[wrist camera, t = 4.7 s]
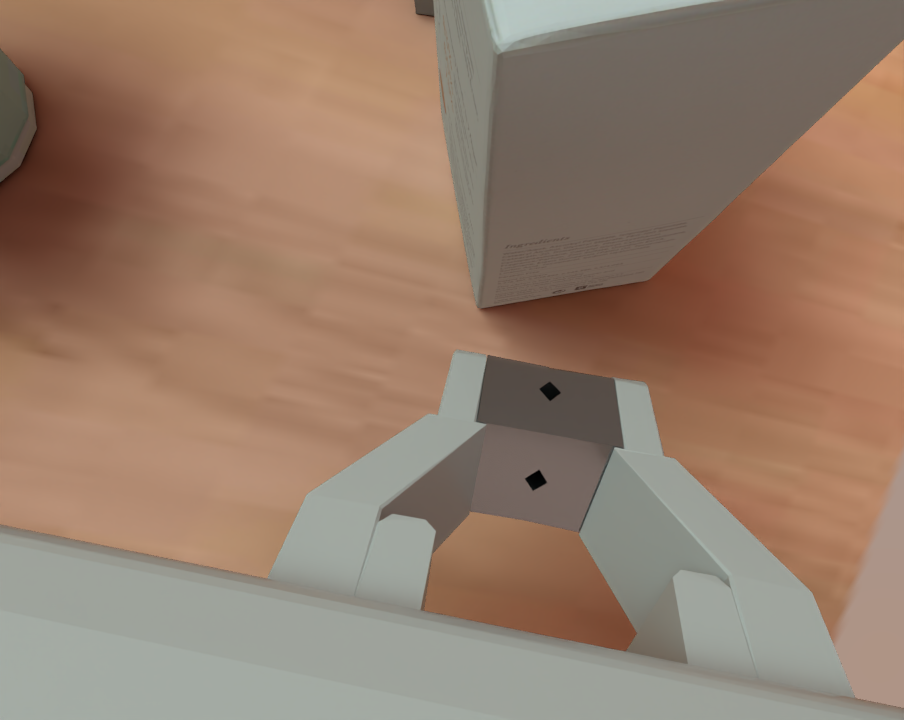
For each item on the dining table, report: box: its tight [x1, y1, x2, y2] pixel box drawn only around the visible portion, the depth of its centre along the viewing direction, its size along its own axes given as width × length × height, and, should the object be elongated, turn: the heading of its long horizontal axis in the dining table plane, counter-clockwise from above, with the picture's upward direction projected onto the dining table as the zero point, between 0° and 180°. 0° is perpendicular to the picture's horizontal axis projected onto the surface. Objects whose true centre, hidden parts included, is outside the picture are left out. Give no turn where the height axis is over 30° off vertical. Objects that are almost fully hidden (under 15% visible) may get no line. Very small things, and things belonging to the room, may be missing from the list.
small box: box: [433, 0, 904, 308], centre depth 14 cm, size 8×6×13 cm
